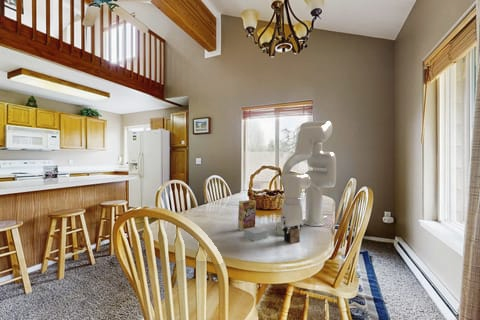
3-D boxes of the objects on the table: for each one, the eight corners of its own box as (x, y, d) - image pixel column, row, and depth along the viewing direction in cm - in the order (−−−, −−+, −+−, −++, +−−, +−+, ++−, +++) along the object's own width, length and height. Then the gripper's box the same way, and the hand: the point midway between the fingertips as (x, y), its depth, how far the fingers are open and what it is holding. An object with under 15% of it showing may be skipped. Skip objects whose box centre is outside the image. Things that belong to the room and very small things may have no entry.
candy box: (242, 231, 120) (242, 202, 120) (237, 229, 124) (238, 200, 124) (255, 228, 125) (256, 200, 125) (251, 226, 129) (251, 199, 128)
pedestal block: (256, 234, 117) (256, 226, 117) (267, 238, 111) (267, 230, 111) (244, 237, 112) (244, 229, 112) (254, 242, 106) (254, 233, 106)
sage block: (282, 231, 121) (282, 220, 121) (290, 233, 118) (291, 222, 118) (276, 233, 118) (277, 221, 118) (285, 236, 114) (285, 224, 114)
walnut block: (291, 238, 111) (292, 226, 111) (299, 242, 106) (299, 229, 106) (283, 240, 108) (284, 227, 108) (291, 244, 104) (291, 230, 104)
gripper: (300, 198, 115) (299, 235, 115) (272, 201, 106) (272, 240, 106) (311, 201, 108) (310, 239, 108) (283, 204, 100) (282, 246, 100)
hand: (291, 239), depth 107 cm, fingers closed on walnut block, 5 cm apart
